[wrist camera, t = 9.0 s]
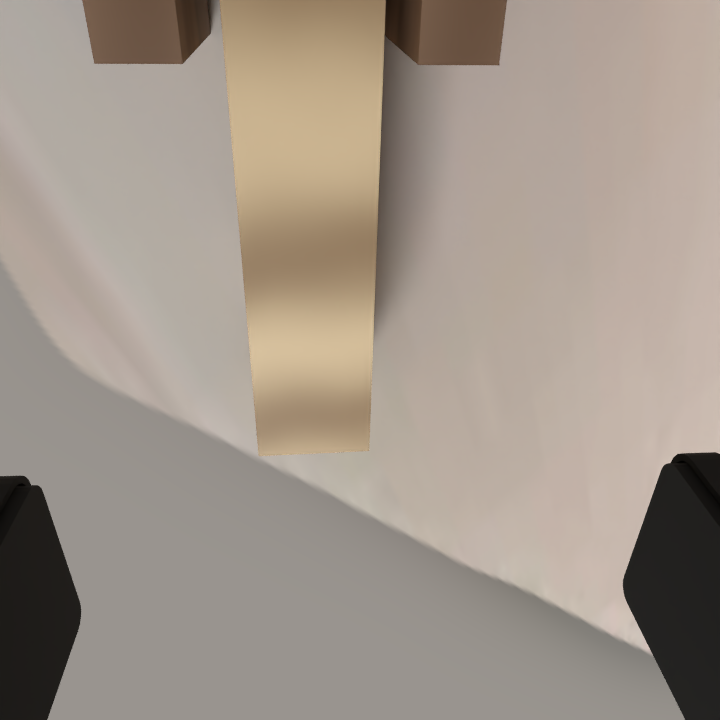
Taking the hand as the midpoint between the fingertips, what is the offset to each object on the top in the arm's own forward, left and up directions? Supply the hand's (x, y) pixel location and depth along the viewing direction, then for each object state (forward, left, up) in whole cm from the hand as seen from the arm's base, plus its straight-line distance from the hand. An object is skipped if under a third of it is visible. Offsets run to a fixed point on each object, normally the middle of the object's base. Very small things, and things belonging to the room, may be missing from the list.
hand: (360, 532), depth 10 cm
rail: (0, 0, -16) cm, 16 cm away
